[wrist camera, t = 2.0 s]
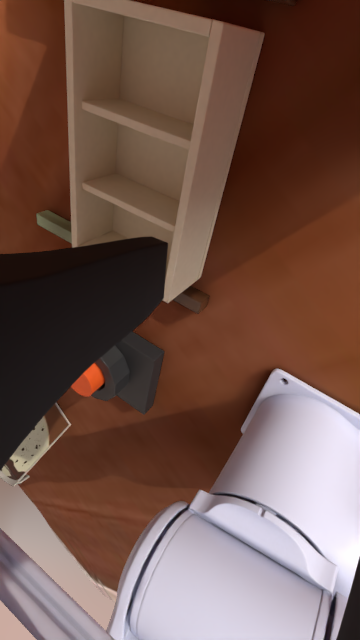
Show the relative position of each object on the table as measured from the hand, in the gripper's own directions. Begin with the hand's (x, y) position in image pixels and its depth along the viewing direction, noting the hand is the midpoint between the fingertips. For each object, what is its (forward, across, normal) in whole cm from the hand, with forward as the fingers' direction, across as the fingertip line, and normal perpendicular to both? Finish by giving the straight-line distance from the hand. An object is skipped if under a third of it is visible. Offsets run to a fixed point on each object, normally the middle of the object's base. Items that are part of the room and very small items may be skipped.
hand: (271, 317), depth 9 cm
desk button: (+7, +15, +19) cm, 25 cm away
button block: (+10, +15, +19) cm, 26 cm away
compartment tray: (+10, +11, 0) cm, 15 cm away
